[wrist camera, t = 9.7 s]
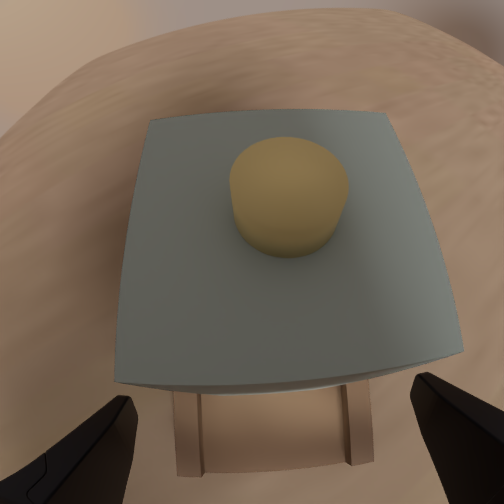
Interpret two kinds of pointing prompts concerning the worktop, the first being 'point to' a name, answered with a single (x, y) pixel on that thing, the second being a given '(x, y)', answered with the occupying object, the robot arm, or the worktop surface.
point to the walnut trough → (273, 430)
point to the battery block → (278, 256)
